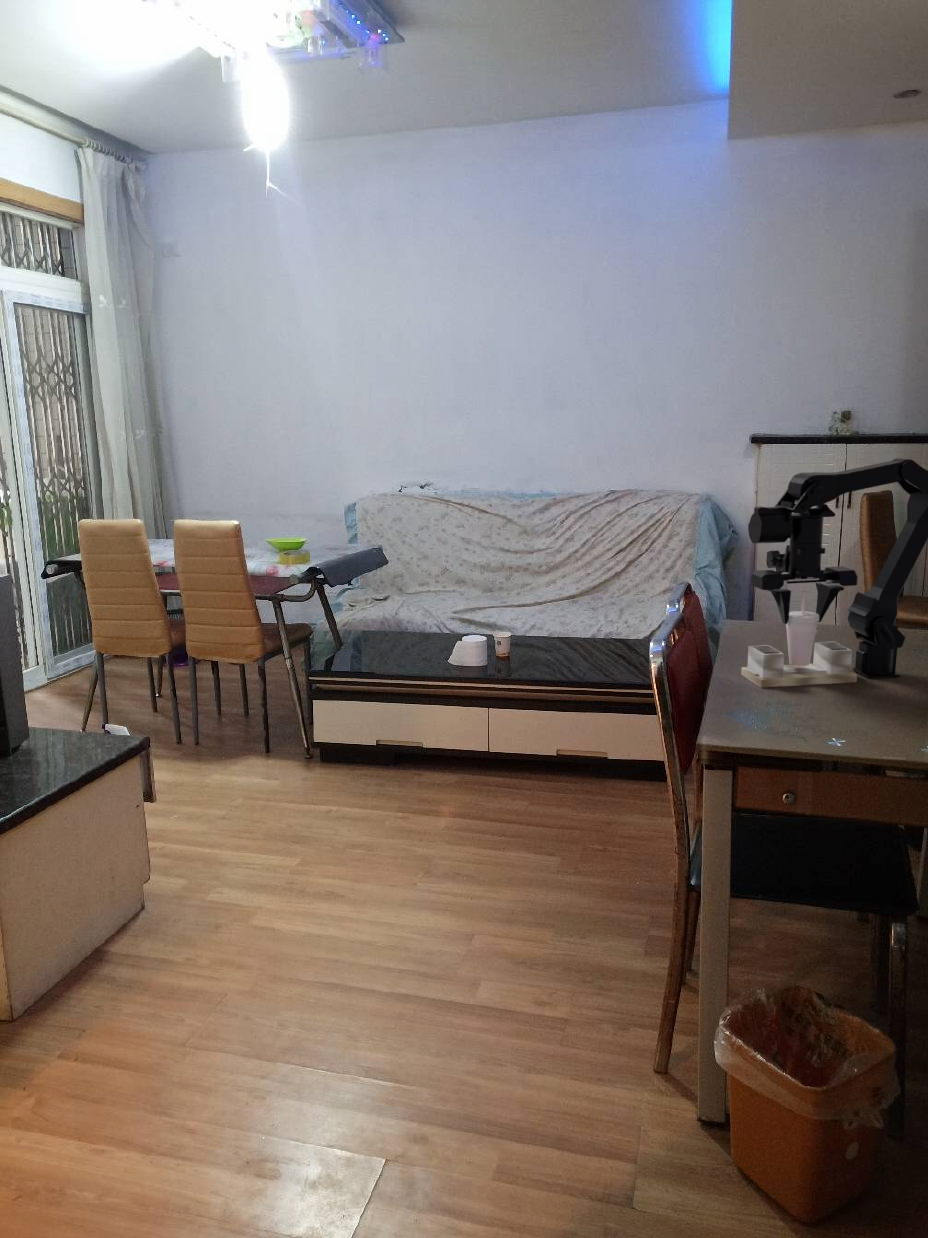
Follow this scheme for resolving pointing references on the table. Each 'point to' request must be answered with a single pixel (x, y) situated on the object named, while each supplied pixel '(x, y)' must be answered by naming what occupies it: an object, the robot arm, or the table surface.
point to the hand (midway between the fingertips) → (801, 622)
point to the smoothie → (801, 635)
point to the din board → (825, 668)
